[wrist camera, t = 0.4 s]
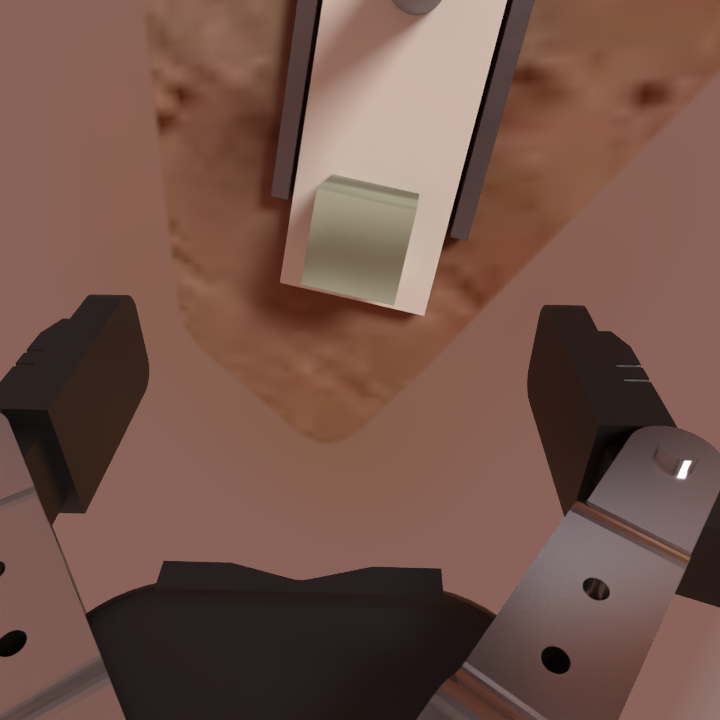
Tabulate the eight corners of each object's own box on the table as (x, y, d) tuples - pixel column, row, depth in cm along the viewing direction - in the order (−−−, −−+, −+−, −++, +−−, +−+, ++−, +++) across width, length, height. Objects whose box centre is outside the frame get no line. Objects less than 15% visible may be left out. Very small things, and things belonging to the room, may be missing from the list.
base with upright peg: (344, -105, 31) (267, -250, 17) (522, -66, 31) (592, -181, 17) (285, 275, 40) (201, 386, 26) (424, 307, 39) (416, 436, 25)
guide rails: (322, -134, 31) (317, -144, 29) (554, -84, 31) (559, -91, 29) (277, 191, 38) (270, 196, 36) (466, 234, 37) (467, 240, 36)
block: (332, 174, 35) (316, 188, 31) (419, 193, 35) (416, 211, 31) (317, 258, 37) (300, 284, 33) (399, 277, 37) (393, 305, 33)
